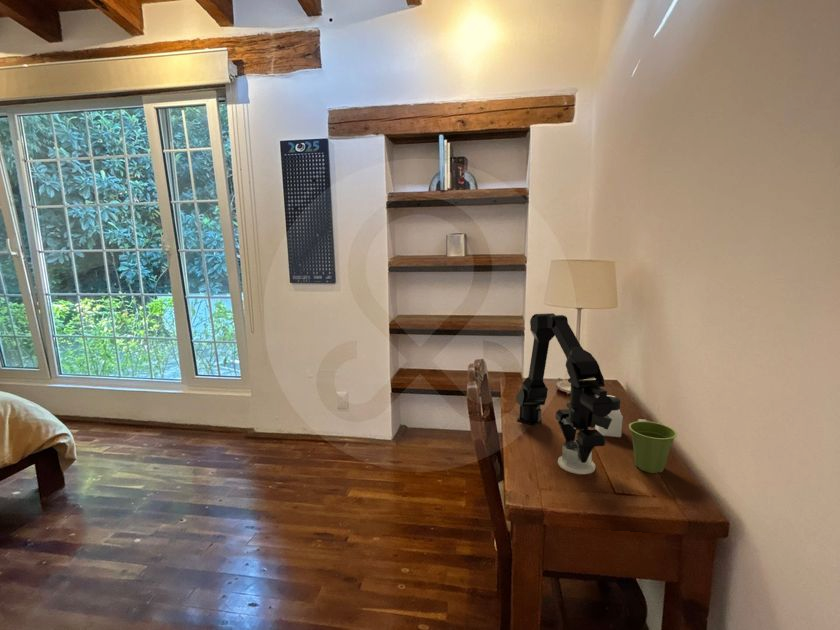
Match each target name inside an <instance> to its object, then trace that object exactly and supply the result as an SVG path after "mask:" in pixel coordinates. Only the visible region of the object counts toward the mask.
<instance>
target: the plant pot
mask: <svg viewBox="0 0 840 630" xmlns="http://www.w3.org/2000/svg"><path fill="white" fill-rule="evenodd" d="M628 428H629V430H630V434H631V438H632V445H633V446H632V447H633V455H634V465H635V466H636V467H637V468H639V470H641V471H643V472H646V473H651V474H655V473H662V472H664V470H665V467H666V463H667V460H668V457H669V453H670V449H671V446H672V445H673V442H674V439H675V438H677V435H678V432H677V431H676V430H675V429H673V428H672V427H670V426H668V425H665V424H662V423H658V422H656V421H655V422H654V421H649V420H647V421H638V420H637V421H634V422H630V423H629V424H628Z"/></svg>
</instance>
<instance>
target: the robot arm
mask: <svg viewBox="0 0 840 630" xmlns="http://www.w3.org/2000/svg"><path fill="white" fill-rule="evenodd" d="M529 324H530V332H531V334H532V336H533V344H532V351H531V357H530V364H529V371H528V376H527V377H526V378H525V379H524V381H523V382H522V385H521V389H520V390H519V391H518V392H517V394H516V395H515V399H516V404H518V405H519V417H518V418H516V420H517V421H518V422H521V423H524V424H527V425H531V426H536V424H538V423H539V422H541V421H542V409H541V406H544V405H545V404H546V400H547V398H548V390H549V389H548V387H547V386H546V385H547V384H546V383H545V381H544V377H545V370H546V364H547V359H548V353H549V345H550V341H552V339H553V338H554V337H555V338H556V340H557V342H558V344H559V346H560V348H561V351H563V353H564V356H565V358H566V359H565V360H566V361H565V369H566V372H567V374H568V376H569V378H568V379H567V382H568V383H569V384H570V394H569V402H567V403H566V409H565V408H564V409H562V408H561V409H558V410H557V411H556V412H555V419H556V421H558V422H557V424H558V425H559V427H560V430H561V432H562V435H563V438H564V440H565V442H566V441H571V440H576V444H577V448H578V452H579V456H580V459H581V462H582V463H586V461H587V459H588V457H589V455H590V453H591V451H592V452H593V450H594V448H596V447H605V446H606V436H603V435H602V434H601V433H600V432H598V431H597V430H596V429H589V428H595V425H597V426H600V427H603V428H604V429H608V428H609V425H610V423H611V421H612V419H611V418H610V417H609V416H607V415H608V414H610V412H611V411H612V409H613V402H612V400H611V398H610V397H608V396H607V395H608V392H607V390H606V389H604V387H605V386H606V385H605V382H604V380H605V378H604V376H603V374H602V371H601V368H600V365H599V363H598V361H597V360H596V357H594V356H593V355H592V354H591V352H588V351H587V350H585V349H584V348H583V347H582V346H581V343H580V342H579V340H578V338H577V337H576V335H575V333H574V331H573V329H572V328H571V326H570V324H569V321H568V317H567V316H566V315H564V314H555V313H535V314H533V315H532V316H531V318H530V320H529ZM602 387H603V388H602ZM577 431H578V432H577Z"/></svg>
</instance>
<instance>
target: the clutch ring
mask: <svg viewBox="0 0 840 630" xmlns="http://www.w3.org/2000/svg"><path fill="white" fill-rule="evenodd" d="M576 440H577V439H575V440H571V441H566V440H565V442H564V443H562V451H561V456H562V461H563V463H564V464H565V465H566V466H568V467H572V468H575V469H588V467H589V466H590V465H591V461H592V456H593V455H592V453H593V450H592V451H591V453H590V455H589V457H588V459H587V461H586V463H582V462H581V459H580V456H579V452H578V450H577V449H574V448H577V444H576Z"/></svg>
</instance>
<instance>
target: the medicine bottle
mask: <svg viewBox="0 0 840 630" xmlns="http://www.w3.org/2000/svg"><path fill="white" fill-rule="evenodd" d="M607 396H608V397H610V398H611V400H612V402H613V409H612V411H611V412H610V414H608V415H607V416H609V417H610V418H611V419H612V421H611V423H610V425H609V428H608V429H604V428H603V427H600V426H597V425H595V427H594V428H595V429H594V430H597V431H598V432H600V433H601V434H602V435H603V436H604V437H613V438H621V437H622V435H623V434H622V433H623V421H624V416H623V415H622V413H621V411H620V409H621V408H620V407H621V400H620V398H618V397H617V396H614V395H608V394H607Z"/></svg>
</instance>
